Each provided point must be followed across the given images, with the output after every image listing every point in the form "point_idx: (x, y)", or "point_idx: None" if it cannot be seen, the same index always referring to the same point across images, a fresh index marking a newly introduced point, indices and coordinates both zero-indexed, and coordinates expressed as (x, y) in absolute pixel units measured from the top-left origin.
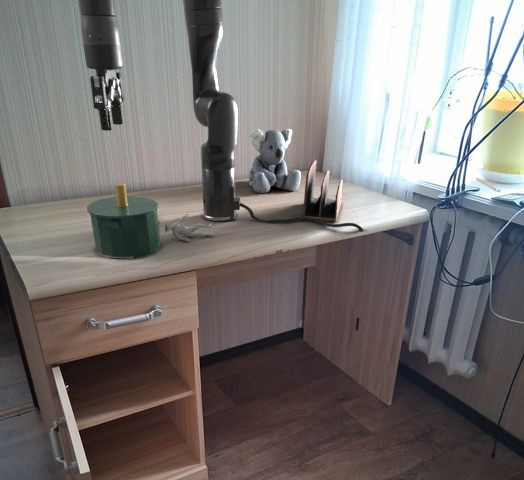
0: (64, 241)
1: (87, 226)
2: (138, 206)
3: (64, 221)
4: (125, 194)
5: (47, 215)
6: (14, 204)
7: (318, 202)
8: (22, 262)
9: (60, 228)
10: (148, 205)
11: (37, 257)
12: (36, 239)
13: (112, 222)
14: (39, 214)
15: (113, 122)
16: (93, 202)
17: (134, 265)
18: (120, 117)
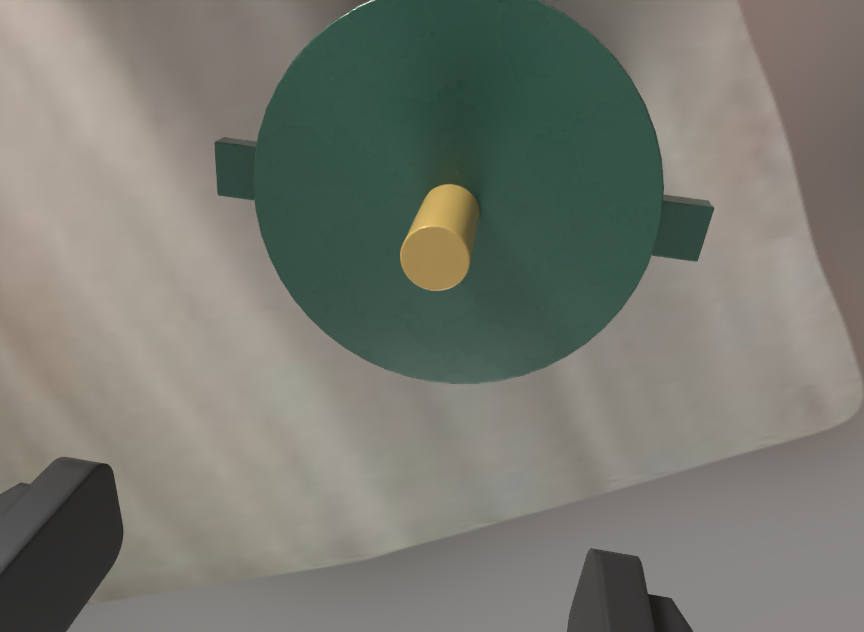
0: (394, 400)
1: (221, 349)
2: (469, 115)
3: (179, 431)
4: (456, 209)
5: (127, 490)
6: None
7: None
8: (592, 485)
9: (257, 432)
10: (449, 50)
11: (551, 453)
12: (375, 482)
13: (662, 234)
14: (123, 513)
15: (109, 558)
16: (392, 365)
17: (698, 93)
18: (54, 533)
